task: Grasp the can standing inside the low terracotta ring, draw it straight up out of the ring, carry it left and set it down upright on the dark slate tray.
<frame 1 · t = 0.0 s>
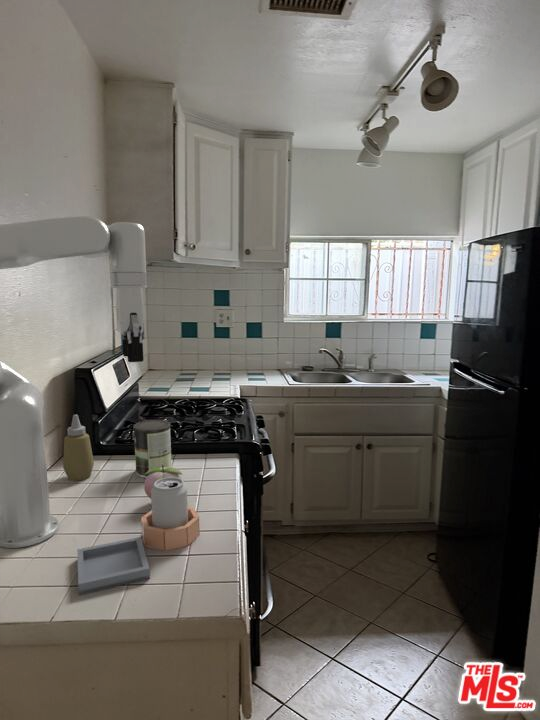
hand: (132, 358, 106), 37 cm above the counter, tool pointing down, fingers open, 9 cm apart
slate tray: (112, 568, 89), on the counter
decorative fruit: (164, 504, 117), on the counter
terracotta ring: (170, 535, 102), on the counter
squeeze bottle: (79, 477, 133), on the counter
coffee can: (154, 472, 137), on the counter
can: (170, 536, 102), resting in terracotta ring
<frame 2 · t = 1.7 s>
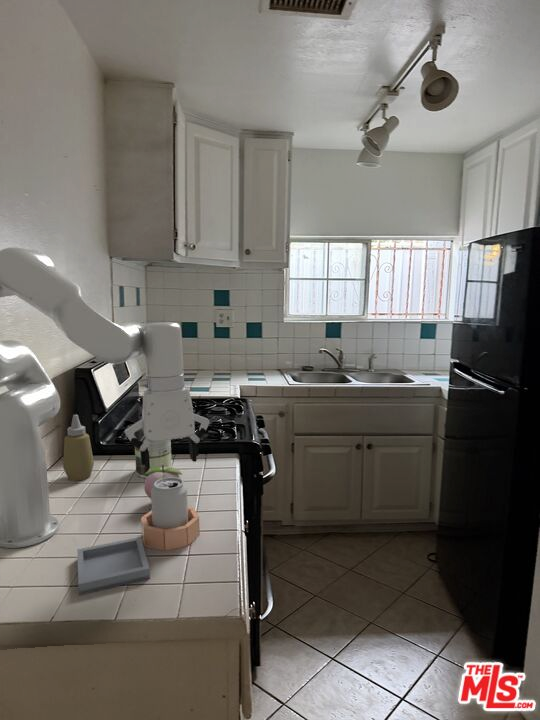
hand: (170, 463, 99), 16 cm above the counter, tool pointing down, fingers open, 9 cm apart
nothing on the counter moved.
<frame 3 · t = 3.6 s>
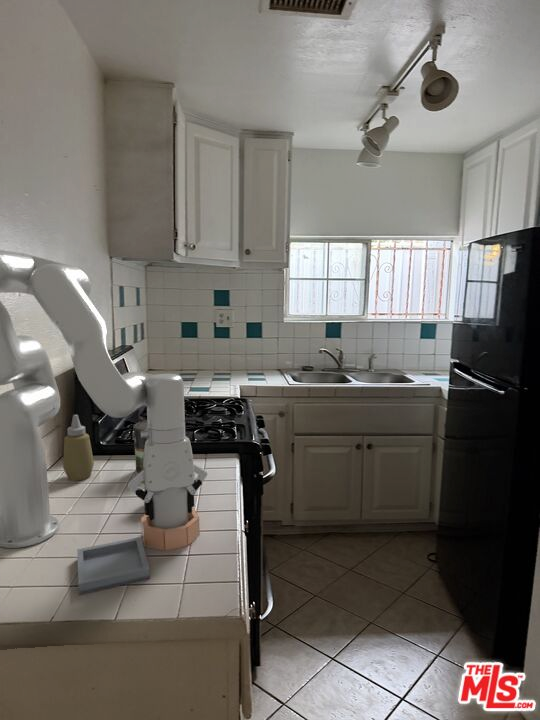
hand: (170, 513, 101), 5 cm above the counter, tool pointing down, fingers closed on can, 7 cm apart
can: (170, 536, 102), resting in terracotta ring, touching gripper
everything else where it was.
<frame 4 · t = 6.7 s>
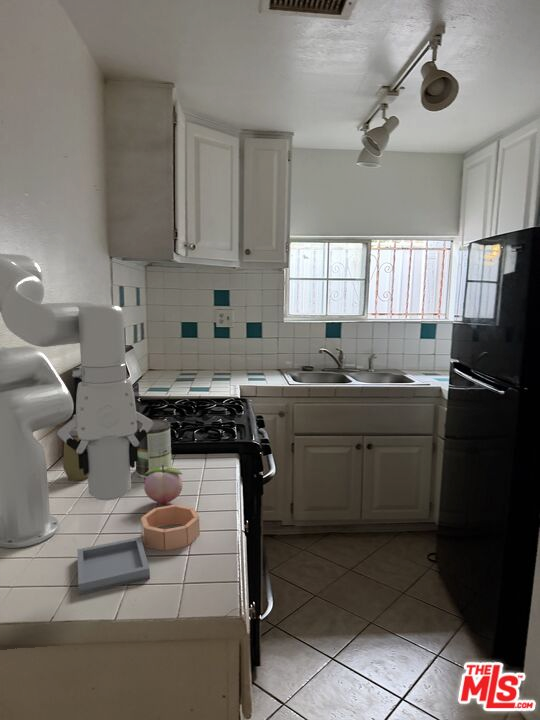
hand: (109, 468, 87), 20 cm above the counter, tool pointing down, fingers closed on can, 7 cm apart
can: (110, 494, 88), point 14 cm above the counter, touching gripper
everything else where it was.
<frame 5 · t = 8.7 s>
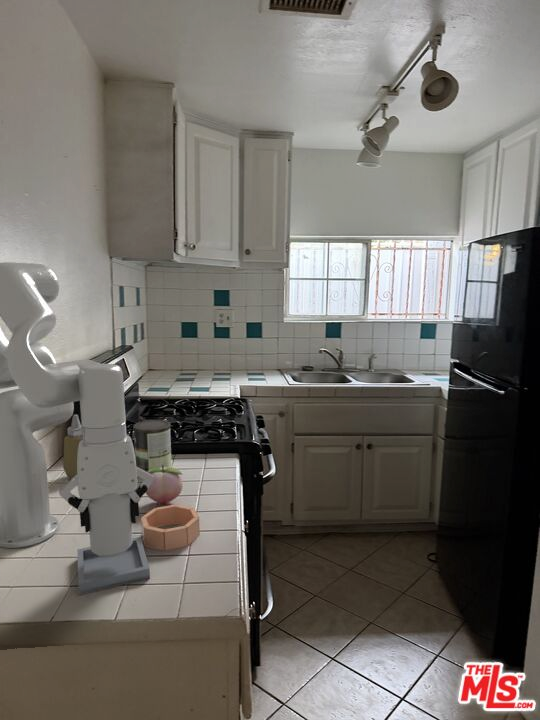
hand: (110, 524, 88), 9 cm above the counter, tool pointing down, fingers closed on can, 7 cm apart
can: (112, 549, 89), point 4 cm above the counter, touching gripper
everything else where it was.
when the fingers open (7 cm above the counter, at t = 10.2 s): can drops 1 cm, resting on slate tray.
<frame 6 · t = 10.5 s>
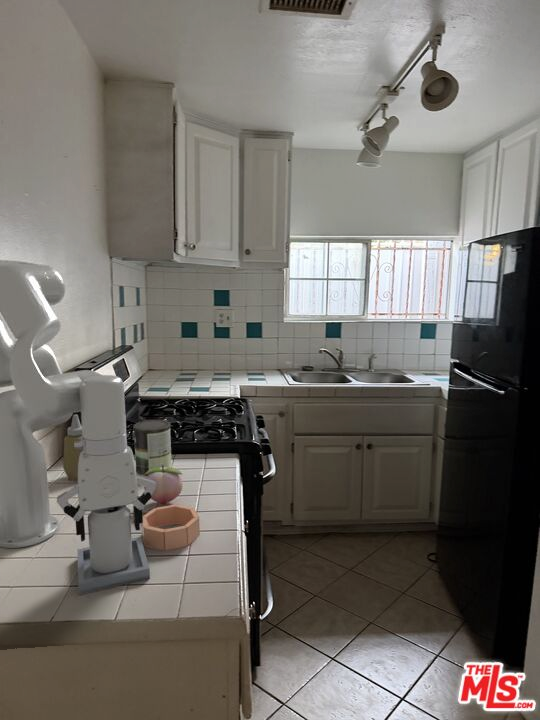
hand: (110, 532, 88), 7 cm above the counter, tool pointing down, fingers open, 9 cm apart
can: (112, 566, 89), resting on slate tray
everything else where it was.
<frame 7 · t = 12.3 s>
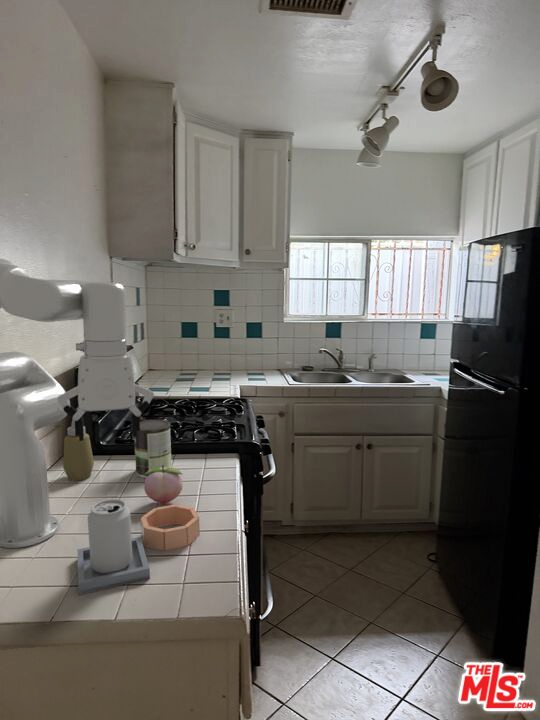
hand: (108, 436, 92), 24 cm above the counter, tool pointing down, fingers open, 9 cm apart
nothing on the counter moved.
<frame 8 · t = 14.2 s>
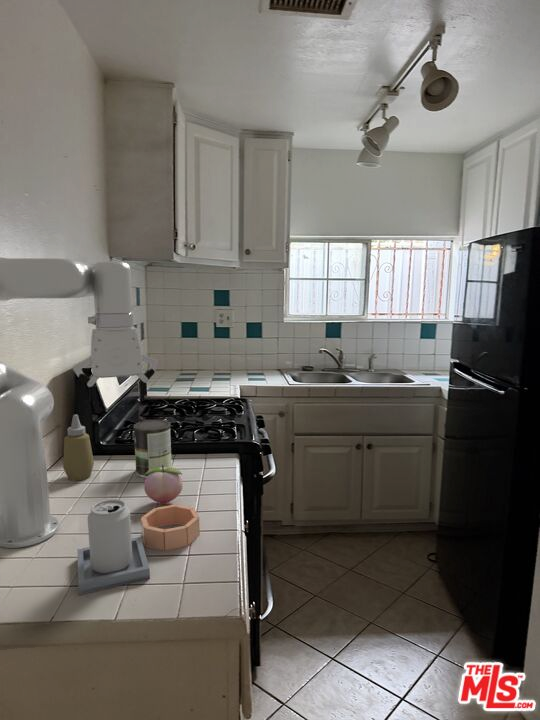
hand: (118, 401, 101), 28 cm above the counter, tool pointing down, fingers open, 9 cm apart
nothing on the counter moved.
at the end: can inside the target area on the slate tray (0.1 cm from its centre), point 0.4 cm above the slate tray's base; can tilted 0°; the gripper is holding nothing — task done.
